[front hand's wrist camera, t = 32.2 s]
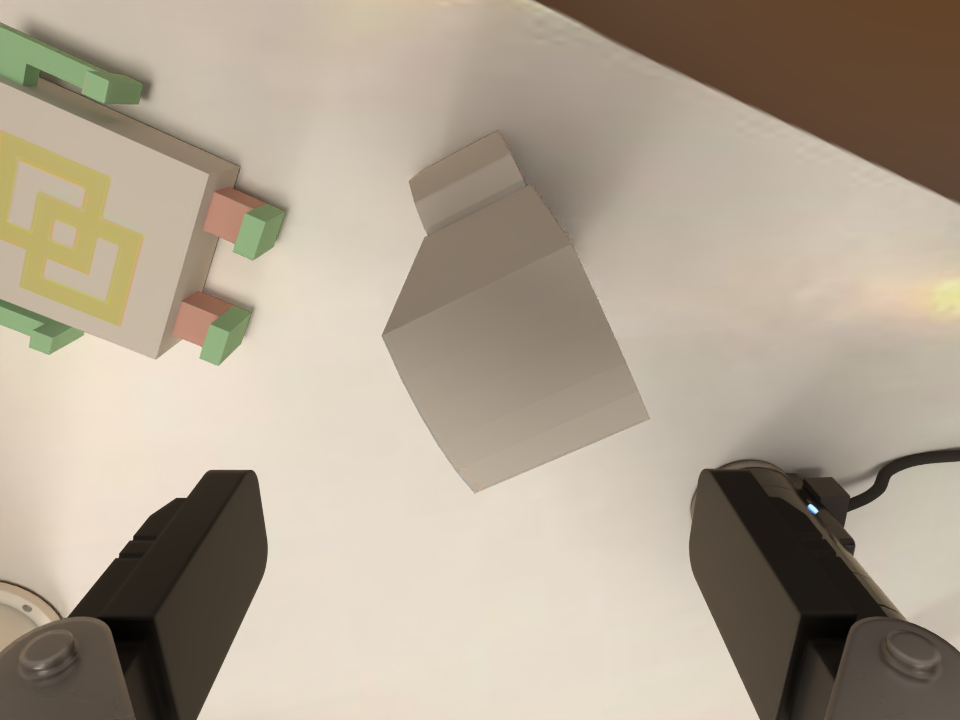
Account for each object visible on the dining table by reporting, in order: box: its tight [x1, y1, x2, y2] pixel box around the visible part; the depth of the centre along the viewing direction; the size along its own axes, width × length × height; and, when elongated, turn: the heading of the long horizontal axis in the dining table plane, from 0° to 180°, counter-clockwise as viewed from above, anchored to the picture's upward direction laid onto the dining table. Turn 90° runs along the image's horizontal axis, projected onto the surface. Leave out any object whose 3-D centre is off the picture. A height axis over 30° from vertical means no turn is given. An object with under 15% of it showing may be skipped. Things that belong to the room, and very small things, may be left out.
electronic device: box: [382, 130, 650, 493], centre depth 34 cm, size 12×8×30 cm, turn 27°
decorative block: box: [0, 22, 285, 366], centre depth 44 cm, size 26×6×20 cm
